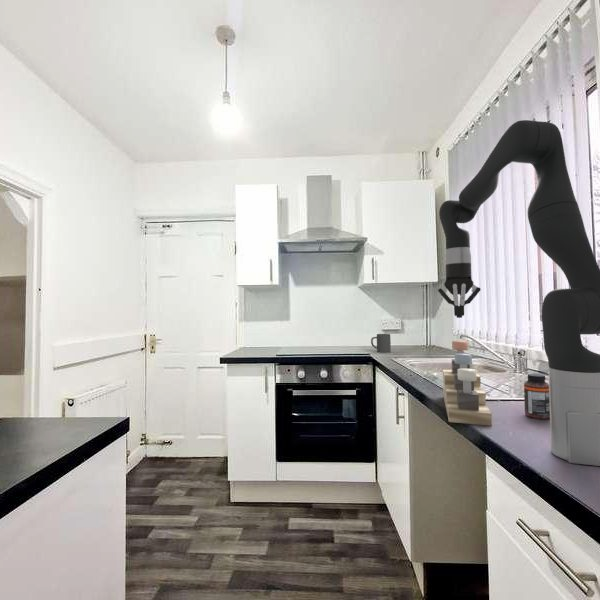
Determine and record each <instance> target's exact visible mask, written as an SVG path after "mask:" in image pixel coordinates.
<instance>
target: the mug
mask: <svg viewBox="0 0 600 600" xmlns="http://www.w3.org/2000/svg"><path fill="white" fill-rule="evenodd" d="M374 339H376V345H374ZM370 344H371V346H372V347H373V348H374V349H376V353H381V354H382V353H383V354H385V353H387V354H388V353H391V351H392V350H391V348H392V347H391V344H392V343H391V334H390V333H377V334H376V336H373V337H371V340H370Z"/></svg>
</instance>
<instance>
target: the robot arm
mask: <svg viewBox="0 0 600 600" xmlns="http://www.w3.org/2000/svg"><path fill="white" fill-rule="evenodd" d="M511 163H516V164H517V163H518V164H531V165H532V167H533V169H534V171H535V173H536V174H535V175H536V178H537V179H536V180H537V184H536V185H537V186H536V189H535V190H534V192H533V195H532V197H531V199H530V201H529V203H528V205H527V206H528V207H527V219H528V223H529V226H530V228H529V229H530V231H531V235H532V238H533V240H534V242H535V243H536V245H537V246H538V247H539V248H540V250H541V251H543V253H545V254H546V255H547V256H548V257H549V258H550V259H551V260H552V261H553V262H554V263H555V264H556V266H558V267H559V268H560V270H561V271H562V273H564V275H565V278H566V280H567V283H568V285H569V287H570V288H556V289H553V290H550V291H548V293H547V294H546V295H545V296H544V299H543V300H542V304H541V305H542V306H541V323H542V333H543V347H544V352H545V355H546V357H547V360H548V362H547V363H548V384H549V401H550V418H549V426H550V427H549V428H550V430H549V431H550V451H551V453H552V454H553V455H554V456H556V457H558V458H561V459H562V460H565V461H567V463H570V464H577V465H586V466H595V467H596V466H597V467H600V353H597V352H594V351H591V350H589V349H588V348H586V346H585V345H583V341H582V336H581V335H600V267H599V264H598V262H597V260H596V257H595V254H594V251H593V248H592V247H591V242H590V240H589V237H588V234H587V231H586V227H585V224H584V220H583V216H582V212H581V211H580V206H579V204H578V201H577V199H576V196H575V193H574V190H573V185H572V182H571V179H570V175H569V171H568V167H567V161H566V156H565V149H564V143H563V139H562V134H561V131H560V128H558V126H557V125H556V124H554V123H552V122H548V121H539V120H531V119H530V120H527V119H524V120H517V121H515V122H514V123H512V124H511V125H510V126H509V127H508V128H507V130H505V132H504V133H503V134H502V136H501V137H500V138H499V141H498V142H497V144H495V147H494V148H493V149H492V151H491V153H490V154H489V156H488V157H487V158H486V160H485V162H484V164H482V167H481V168H480V170H478V172H477V174H476V175H475V176H474V178H472V179H471V180H470V181H469V182H468V183H467V184H466V185H465V187H464V188H462V189H461V191H460V193H459V195H458V200H453V199H452V200H451V199H450V200H446V201H443V203H441V206H440V208H439V210H438V211H439V213H438V214H439V221H440V224H441V226H442V229H443V233H444V236H445V237H444V238H445V255H444V257H445V261H444V264H445V281H444V283H443V285H442V286H441V287H440V288H438V289H437V292H438V293H439V294H440V296H441V297H442V298H443V299H444V300H445V301H446V302H447V303H448V305H449V304H450V305H452V306H453V313H454V314H453V315H454V316H455V317H456V319H457V318H459V319H460V318H461V319H462V318H463V317H464V316H465V306H466V305H469V304H471V302H472V301H473V300H474V299H475V298H476V296H477V295H478V294H480V293H479V292H480V291H481V288H480V287H478V286H476V285H475V284H474V281H473V279H472V278H473V277H472V254H471V253H472V252H471V245H470V244H471V242H470V241H471V237H470V235H471V234H470V231H468V230H466V229H463V228H461V227H459V226H458V224H467V223H470V222H471V221H472V220H473V219H474V218H475V217H476V215H477V214H478V211H479V209H480V207H481V206H482V205H483V204H484V203H485V202H486V201H487V200H489V198H490V197H491V196H493V194H494V193H495V191H496V190H497V188H498V185H499V179H500V173H501V171H502V170H503V169H504V168H506V167H507V166H508V165H509V164H511ZM470 290H471V292H472V293H470V295H469V296H468V297H467V299H466V294H468V292H469V291H470ZM447 291H448V292H449V293H450V295H452V299H453V300H452V299H451V298H450V297H449V295H448V294H446V293H447Z"/></svg>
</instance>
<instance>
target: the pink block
mask: <svg viewBox="0 0 600 600" xmlns="http://www.w3.org/2000/svg"><path fill="white" fill-rule="evenodd" d="M451 349H452V350H453V351H456V354H465V353H464V351H468V350H469V341H468V340H452V341H451Z"/></svg>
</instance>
